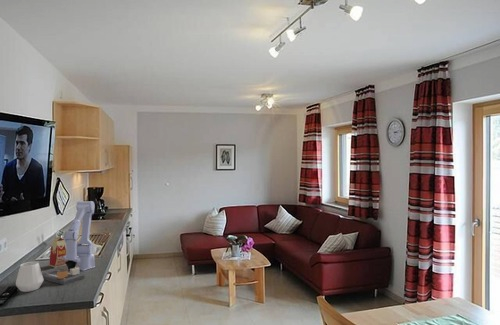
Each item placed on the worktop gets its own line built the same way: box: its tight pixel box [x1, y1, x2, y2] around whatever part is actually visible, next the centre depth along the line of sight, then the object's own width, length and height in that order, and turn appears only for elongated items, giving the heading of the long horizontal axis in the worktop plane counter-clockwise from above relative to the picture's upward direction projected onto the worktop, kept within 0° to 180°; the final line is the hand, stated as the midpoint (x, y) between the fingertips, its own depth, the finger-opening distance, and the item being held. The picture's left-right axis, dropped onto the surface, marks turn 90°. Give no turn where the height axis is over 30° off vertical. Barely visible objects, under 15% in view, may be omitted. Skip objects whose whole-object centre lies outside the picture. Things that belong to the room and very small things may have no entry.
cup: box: [15, 261, 45, 293], centre depth 202 cm, size 13×13×14 cm
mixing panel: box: [42, 267, 85, 286], centre depth 220 cm, size 13×26×2 cm, turn 60°
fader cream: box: [70, 266, 81, 276], centre depth 218 cm, size 4×3×4 cm, turn 150°
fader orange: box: [57, 269, 69, 279], centre depth 213 cm, size 4×3×4 cm, turn 150°
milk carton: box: [48, 236, 68, 269], centre depth 245 cm, size 9×9×20 cm
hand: (71, 272), depth 220 cm, fingers closed
